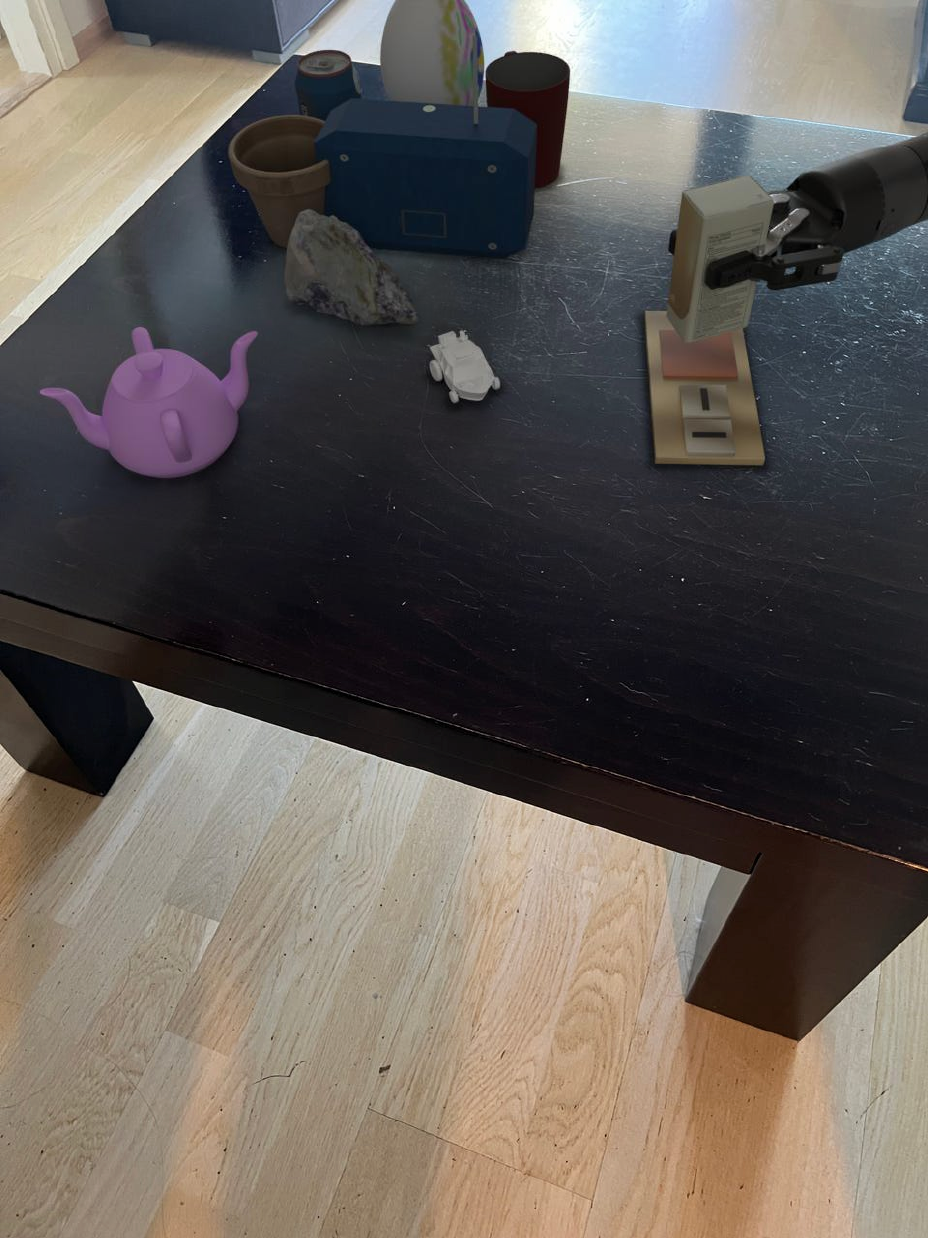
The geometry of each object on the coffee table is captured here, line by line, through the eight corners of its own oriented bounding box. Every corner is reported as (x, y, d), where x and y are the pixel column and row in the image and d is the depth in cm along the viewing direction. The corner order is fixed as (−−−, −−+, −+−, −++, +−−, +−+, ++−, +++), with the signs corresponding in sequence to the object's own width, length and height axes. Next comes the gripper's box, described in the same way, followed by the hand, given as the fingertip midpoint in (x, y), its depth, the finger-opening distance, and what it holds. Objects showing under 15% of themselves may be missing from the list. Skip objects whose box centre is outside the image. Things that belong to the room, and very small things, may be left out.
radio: (535, 218, 105) (542, 16, 89) (523, 266, 100) (529, 59, 84) (347, 204, 107) (321, 4, 91) (326, 249, 102) (295, 46, 86)
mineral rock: (425, 338, 93) (417, 243, 85) (319, 369, 91) (300, 274, 83) (382, 267, 100) (370, 173, 92) (282, 293, 98) (261, 200, 90)
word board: (763, 465, 81) (766, 453, 80) (654, 463, 82) (656, 451, 81) (738, 318, 93) (741, 305, 92) (643, 317, 94) (645, 304, 93)
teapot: (76, 470, 84) (36, 389, 77) (172, 374, 91) (143, 293, 84) (188, 511, 81) (156, 430, 74) (278, 408, 88) (257, 326, 81)
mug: (471, 146, 114) (468, 46, 105) (544, 134, 115) (546, 34, 107) (499, 199, 107) (498, 96, 98) (575, 185, 108) (581, 82, 99)
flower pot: (339, 270, 101) (325, 176, 92) (233, 261, 102) (211, 168, 94) (364, 209, 107) (354, 117, 99) (265, 201, 109) (247, 110, 101)
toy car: (470, 351, 92) (469, 314, 88) (510, 401, 87) (510, 363, 84) (424, 367, 91) (421, 330, 87) (462, 418, 86) (460, 381, 83)
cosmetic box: (726, 300, 88) (753, 171, 78) (749, 329, 86) (779, 198, 76) (661, 316, 87) (680, 187, 77) (682, 345, 85) (704, 216, 75)
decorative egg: (485, 138, 115) (481, -2, 103) (382, 141, 116) (367, 2, 104) (485, 89, 123) (482, -47, 111) (389, 92, 123) (375, -43, 111)
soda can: (377, 158, 114) (364, 48, 104) (360, 189, 110) (345, 78, 100) (321, 153, 115) (303, 44, 105) (302, 184, 111) (282, 74, 101)
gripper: (813, 122, 85) (646, 176, 81) (929, 200, 77) (750, 264, 73) (794, 203, 91) (638, 257, 87) (899, 282, 83) (733, 346, 79)
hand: (690, 260), depth 80 cm, fingers closed on cosmetic box, 4 cm apart
